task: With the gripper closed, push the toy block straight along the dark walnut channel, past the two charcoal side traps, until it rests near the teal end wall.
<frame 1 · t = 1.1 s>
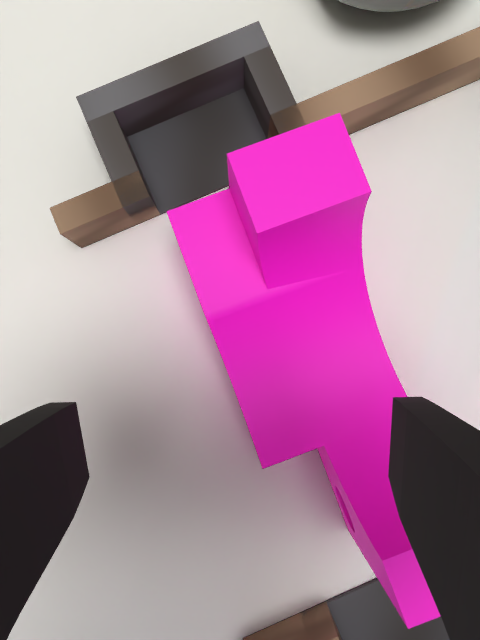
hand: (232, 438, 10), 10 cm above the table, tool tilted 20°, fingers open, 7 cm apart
trap channel: (380, 340, 21), on the table
toy block: (299, 366, 21), on the table
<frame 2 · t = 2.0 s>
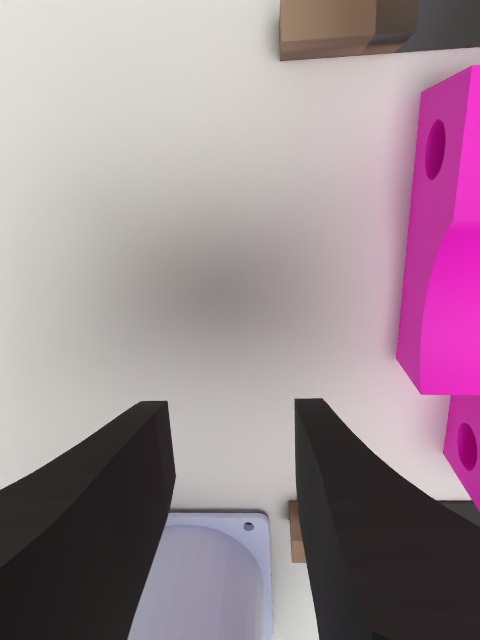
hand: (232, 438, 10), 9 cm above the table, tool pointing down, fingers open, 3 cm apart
toy block: (476, 291, 19), on the table
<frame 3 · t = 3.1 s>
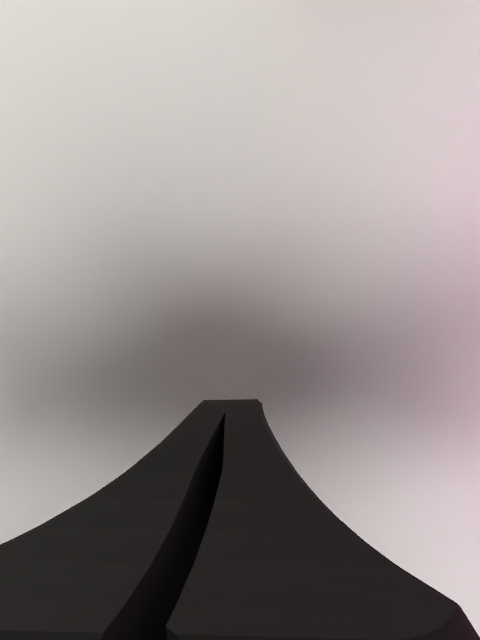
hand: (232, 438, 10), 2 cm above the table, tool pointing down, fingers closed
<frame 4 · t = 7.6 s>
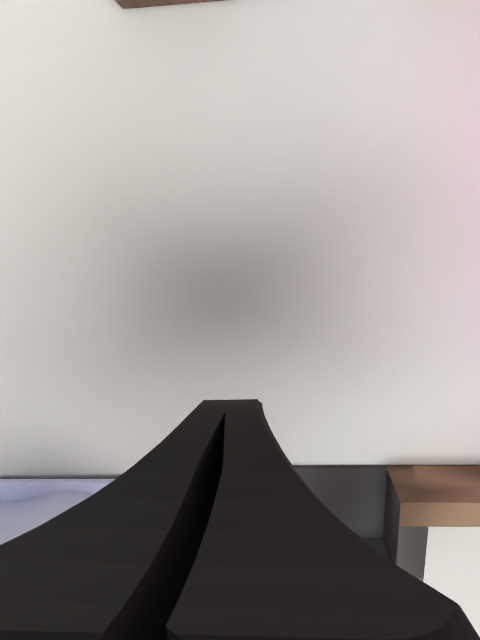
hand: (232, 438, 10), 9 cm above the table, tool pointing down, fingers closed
trap channel: (422, 262, 18), on the table
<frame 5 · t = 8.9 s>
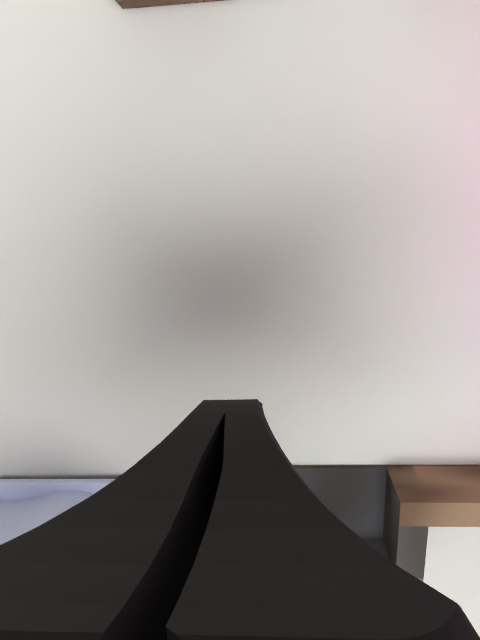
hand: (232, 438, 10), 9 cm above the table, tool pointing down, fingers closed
trap channel: (422, 262, 18), on the table
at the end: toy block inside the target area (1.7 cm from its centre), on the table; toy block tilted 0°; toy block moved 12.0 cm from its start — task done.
